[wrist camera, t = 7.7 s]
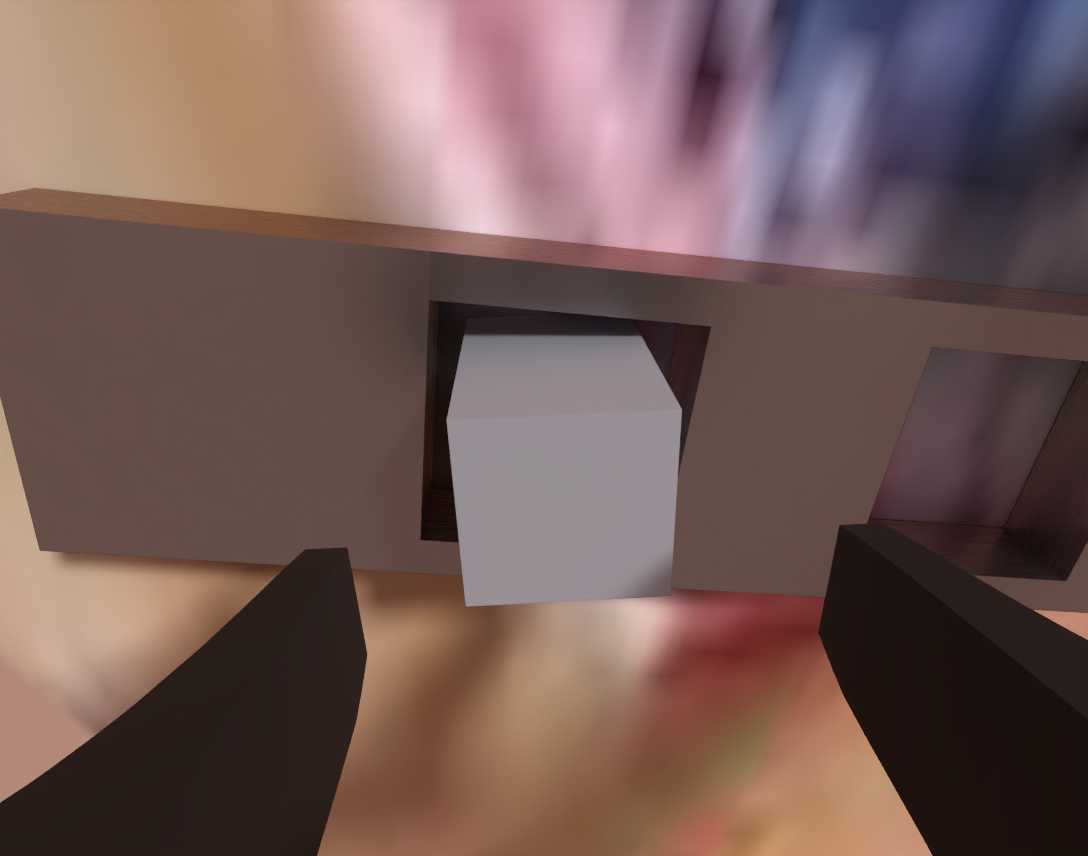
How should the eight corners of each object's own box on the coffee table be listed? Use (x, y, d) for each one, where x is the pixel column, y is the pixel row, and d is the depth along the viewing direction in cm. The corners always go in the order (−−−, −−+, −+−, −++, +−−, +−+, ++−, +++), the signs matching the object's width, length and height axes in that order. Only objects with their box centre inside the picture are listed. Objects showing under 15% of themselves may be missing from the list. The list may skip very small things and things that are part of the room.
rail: (1185, 305, 17) (1285, 336, 15) (1052, 559, 21) (1118, 614, 19) (34, 188, 15) (-50, 203, 13) (97, 495, 19) (39, 550, 16)
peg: (627, 311, 17) (682, 409, 12) (624, 453, 19) (670, 596, 13) (467, 318, 17) (446, 420, 11) (479, 459, 19) (465, 606, 13)
